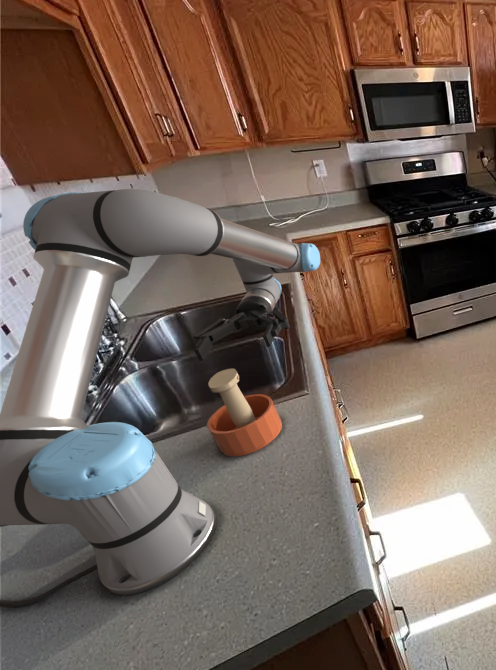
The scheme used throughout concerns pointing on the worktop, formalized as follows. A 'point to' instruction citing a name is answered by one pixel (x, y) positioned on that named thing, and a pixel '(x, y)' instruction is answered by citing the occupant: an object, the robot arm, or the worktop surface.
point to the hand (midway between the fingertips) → (233, 348)
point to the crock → (246, 427)
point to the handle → (232, 397)
